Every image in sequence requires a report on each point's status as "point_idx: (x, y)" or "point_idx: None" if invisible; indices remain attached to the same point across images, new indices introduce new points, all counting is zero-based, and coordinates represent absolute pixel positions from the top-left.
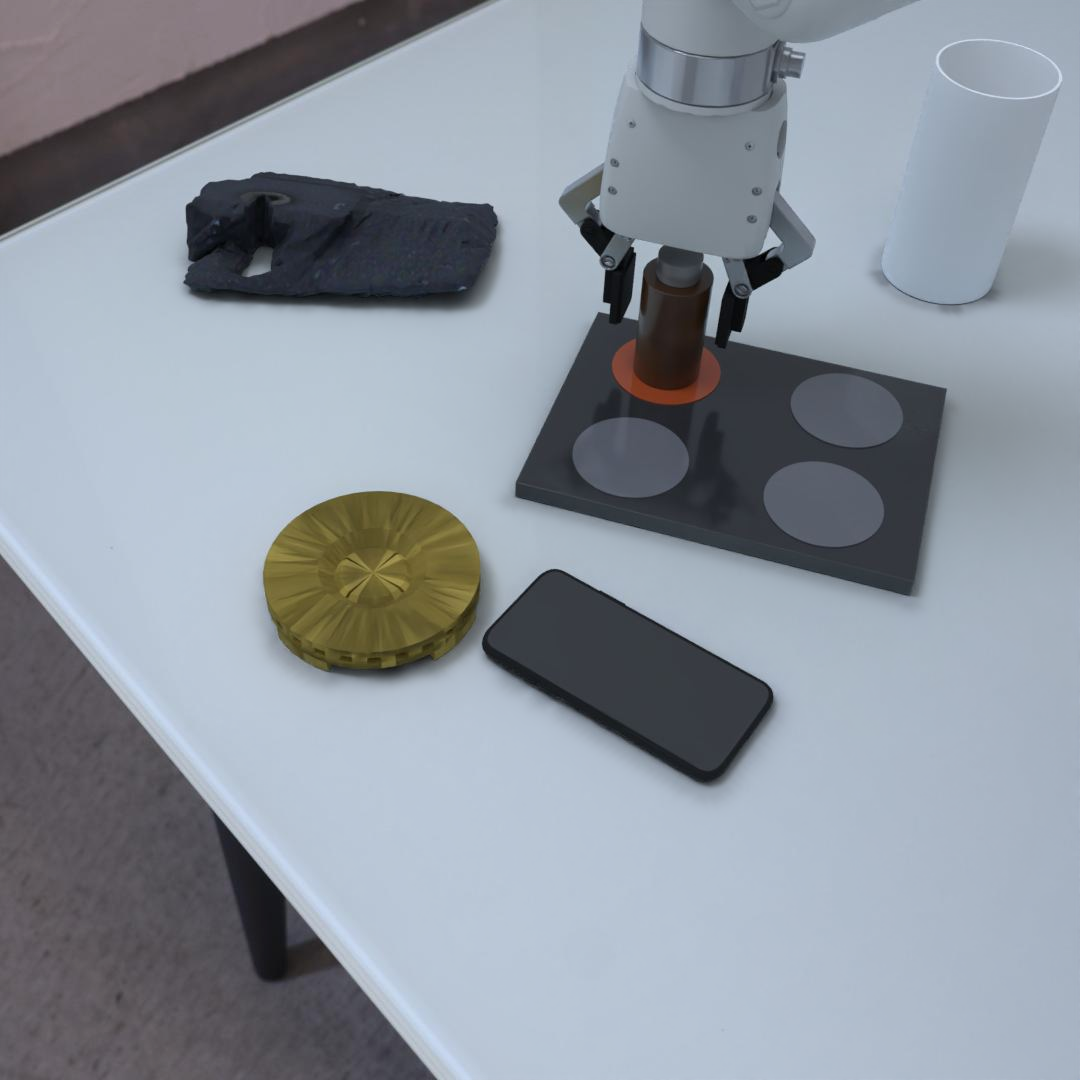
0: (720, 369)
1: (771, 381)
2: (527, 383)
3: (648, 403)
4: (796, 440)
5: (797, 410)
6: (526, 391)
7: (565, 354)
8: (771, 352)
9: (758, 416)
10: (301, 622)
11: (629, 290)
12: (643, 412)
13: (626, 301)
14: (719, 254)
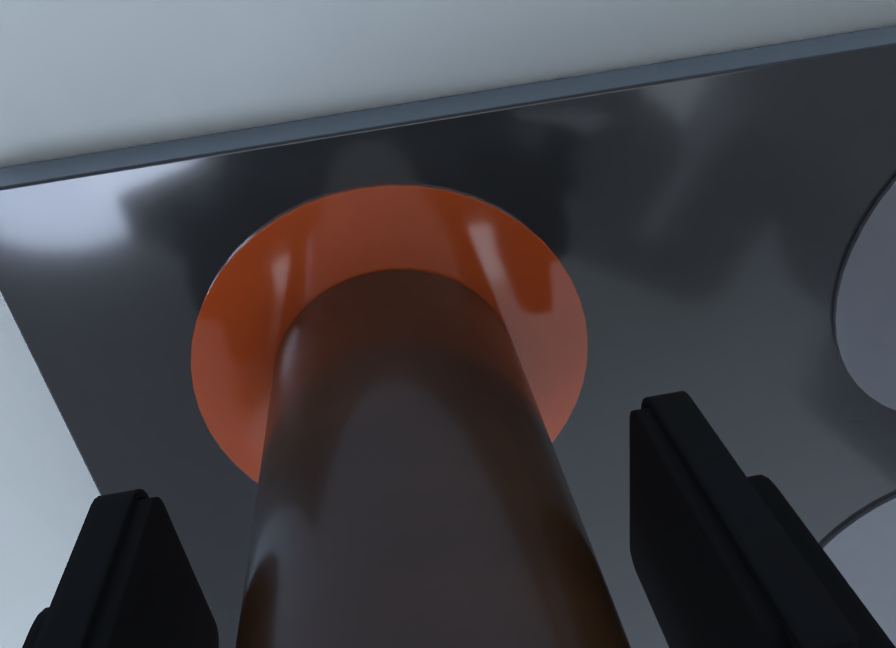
0: (574, 280)
1: (761, 251)
2: (17, 528)
3: None
4: (856, 447)
5: (859, 348)
6: (41, 552)
7: (13, 371)
8: (742, 86)
9: (739, 415)
10: None
11: (158, 626)
12: None
13: (181, 629)
14: None
